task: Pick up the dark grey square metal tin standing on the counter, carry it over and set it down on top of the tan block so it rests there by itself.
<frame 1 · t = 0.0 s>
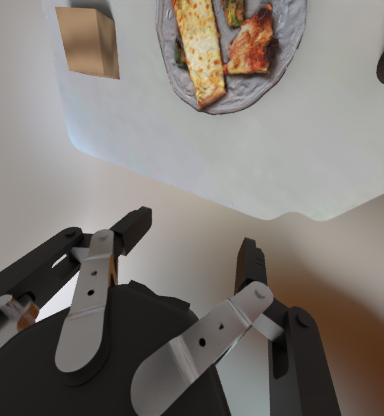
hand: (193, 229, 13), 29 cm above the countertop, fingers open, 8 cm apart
food plate: (225, 33, 28), on the countertop
tan block: (100, 51, 35), on the countertop
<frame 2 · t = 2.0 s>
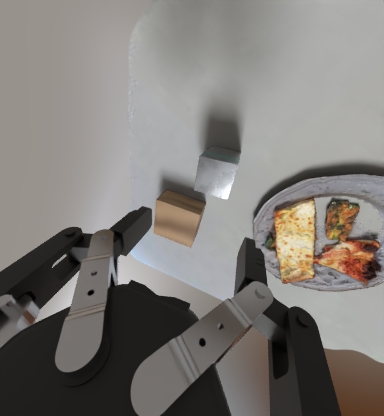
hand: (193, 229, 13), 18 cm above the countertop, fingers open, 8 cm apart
food plate: (320, 236, 29), on the countertop
tan block: (183, 212, 36), on the countertop
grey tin: (222, 163, 28), on the countertop
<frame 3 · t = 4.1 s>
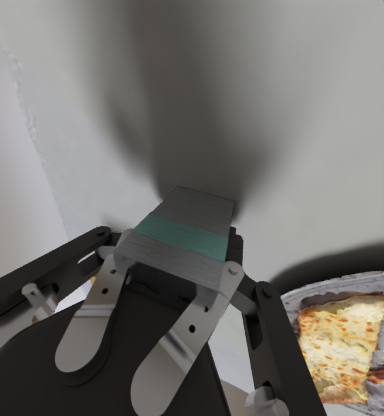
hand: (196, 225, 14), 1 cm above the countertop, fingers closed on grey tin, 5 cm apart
food plate: (383, 342, 16), on the countertop
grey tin: (200, 217, 15), on the countertop, touching gripper
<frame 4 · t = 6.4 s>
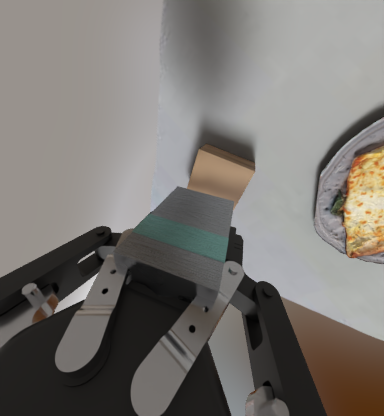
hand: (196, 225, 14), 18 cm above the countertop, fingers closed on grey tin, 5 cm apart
tan block: (220, 175, 30), on the countertop
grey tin: (200, 217, 15), point 17 cm above the countertop, touching gripper
when the fingers open (7 cm above the countertop, at t = 8.6 s): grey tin stays where it is, resting on tan block.
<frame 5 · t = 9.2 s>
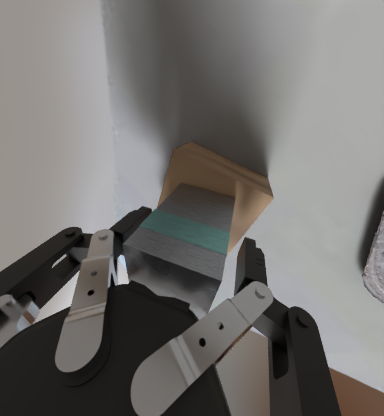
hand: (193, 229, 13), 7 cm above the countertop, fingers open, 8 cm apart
tan block: (211, 192, 19), on the countertop, touching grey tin
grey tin: (202, 212, 15), point 5 cm above the countertop, touching tan block
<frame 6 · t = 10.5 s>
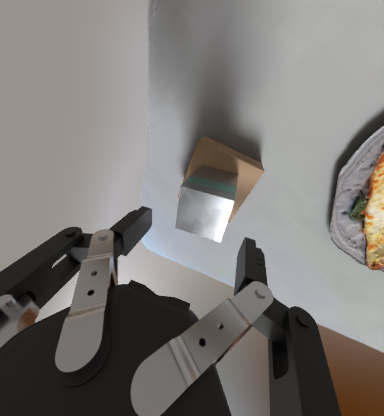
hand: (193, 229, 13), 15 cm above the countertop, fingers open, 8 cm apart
tan block: (220, 174, 26), on the countertop, touching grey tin
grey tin: (215, 186, 22), point 5 cm above the countertop, touching tan block
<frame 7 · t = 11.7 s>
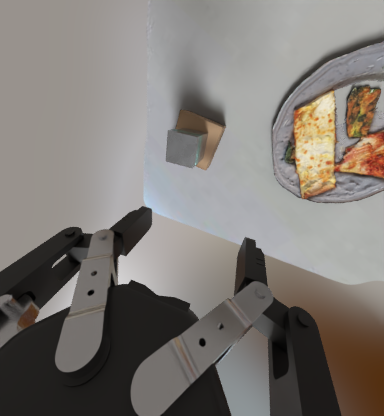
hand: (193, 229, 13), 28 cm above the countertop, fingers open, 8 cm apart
food plate: (340, 138, 30), on the countertop
tan block: (200, 139, 37), on the countertop, touching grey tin
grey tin: (194, 143, 33), point 5 cm above the countertop, touching tan block
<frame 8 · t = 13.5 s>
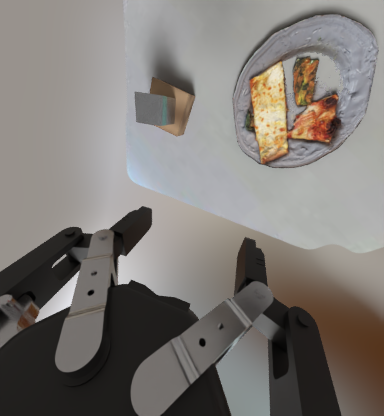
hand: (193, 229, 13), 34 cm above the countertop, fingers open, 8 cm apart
food plate: (291, 107, 34), on the countertop
tan block: (173, 109, 41), on the countertop
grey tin: (165, 110, 37), point 5 cm above the countertop
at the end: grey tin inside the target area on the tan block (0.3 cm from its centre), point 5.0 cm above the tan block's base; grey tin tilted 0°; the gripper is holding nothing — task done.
